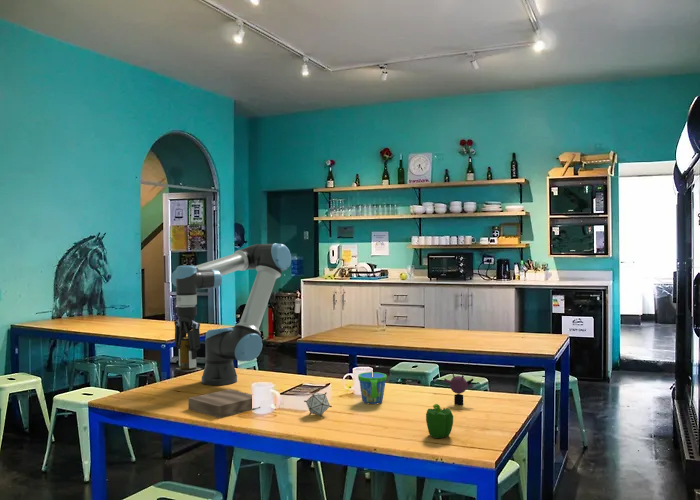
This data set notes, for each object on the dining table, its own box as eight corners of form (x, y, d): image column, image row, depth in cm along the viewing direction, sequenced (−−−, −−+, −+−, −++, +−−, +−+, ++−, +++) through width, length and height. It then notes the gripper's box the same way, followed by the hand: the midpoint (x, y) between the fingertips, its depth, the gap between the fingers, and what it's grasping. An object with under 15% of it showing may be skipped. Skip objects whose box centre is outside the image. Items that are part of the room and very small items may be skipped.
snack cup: (386, 407, 212) (386, 379, 212) (357, 407, 213) (357, 379, 213) (386, 397, 228) (386, 370, 228) (359, 397, 228) (359, 370, 228)
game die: (323, 425, 203) (341, 402, 203) (309, 422, 196) (327, 398, 196) (309, 408, 209) (326, 386, 208) (294, 404, 202) (312, 381, 202)
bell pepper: (441, 430, 184) (441, 398, 185) (458, 437, 177) (458, 404, 177) (419, 434, 180) (419, 401, 181) (435, 442, 173) (435, 407, 173)
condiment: (193, 366, 231) (192, 335, 231) (202, 369, 225) (202, 337, 225) (175, 368, 227) (174, 337, 227) (184, 372, 220) (184, 340, 220)
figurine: (474, 404, 216) (474, 371, 216) (460, 408, 211) (460, 374, 211) (457, 400, 222) (457, 368, 222) (443, 403, 217) (442, 371, 217)
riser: (229, 399, 225) (229, 389, 225) (260, 407, 213) (260, 396, 213) (188, 409, 211) (188, 397, 211) (219, 418, 199) (219, 406, 199)
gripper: (164, 305, 229) (165, 365, 230) (192, 308, 217) (193, 371, 217) (181, 303, 235) (182, 362, 235) (209, 306, 223) (210, 367, 223)
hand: (187, 366), depth 226 cm, fingers closed on condiment, 6 cm apart
